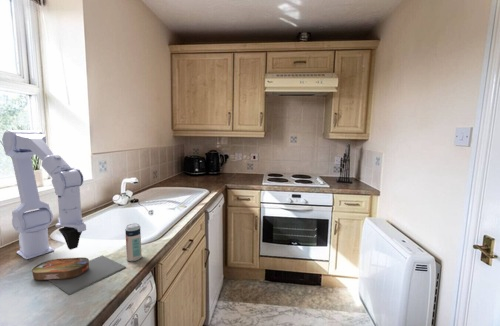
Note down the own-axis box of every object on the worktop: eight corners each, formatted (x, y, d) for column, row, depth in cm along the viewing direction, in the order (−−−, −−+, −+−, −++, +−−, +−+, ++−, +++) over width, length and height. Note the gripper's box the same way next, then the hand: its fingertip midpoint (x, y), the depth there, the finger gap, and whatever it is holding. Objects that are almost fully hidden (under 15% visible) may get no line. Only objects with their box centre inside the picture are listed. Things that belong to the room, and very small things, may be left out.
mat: (46, 278, 72) (46, 277, 72) (102, 256, 86) (102, 255, 86) (69, 295, 65) (68, 293, 65) (125, 267, 78) (125, 266, 78)
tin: (94, 256, 79) (76, 268, 70) (95, 266, 79) (77, 279, 70) (47, 258, 78) (23, 271, 70) (47, 268, 78) (24, 281, 70)
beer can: (132, 254, 87) (131, 222, 86) (144, 256, 86) (143, 223, 85) (123, 261, 82) (121, 227, 81) (135, 263, 81) (134, 228, 80)
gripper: (44, 207, 78) (48, 247, 79) (66, 214, 70) (69, 259, 72) (70, 202, 84) (73, 239, 85) (92, 208, 76) (94, 249, 78)
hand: (73, 248), depth 79 cm, fingers closed
